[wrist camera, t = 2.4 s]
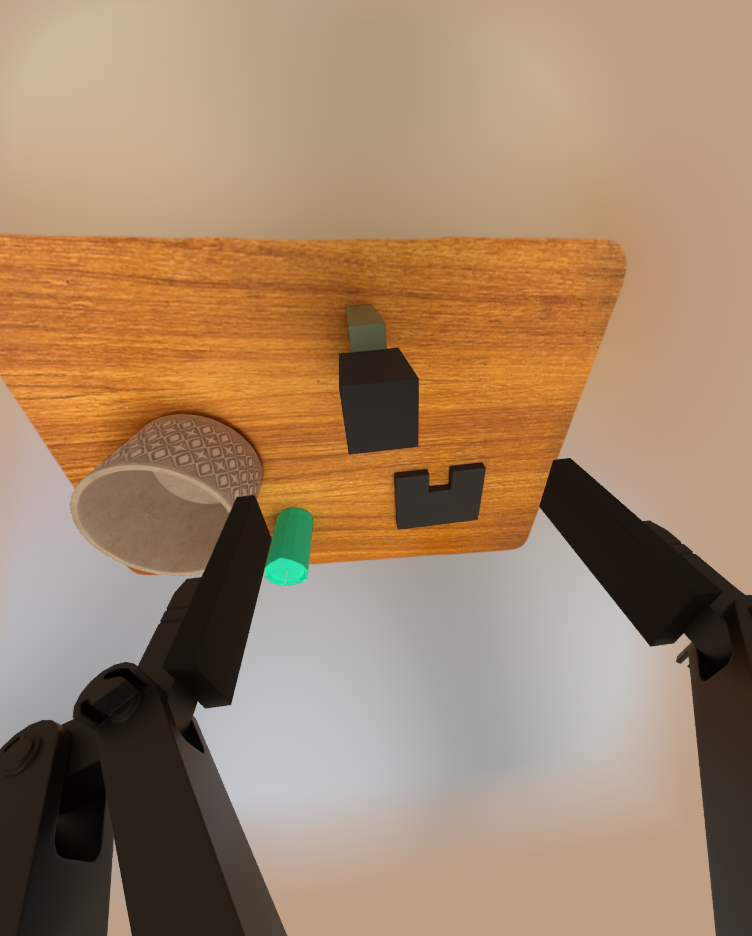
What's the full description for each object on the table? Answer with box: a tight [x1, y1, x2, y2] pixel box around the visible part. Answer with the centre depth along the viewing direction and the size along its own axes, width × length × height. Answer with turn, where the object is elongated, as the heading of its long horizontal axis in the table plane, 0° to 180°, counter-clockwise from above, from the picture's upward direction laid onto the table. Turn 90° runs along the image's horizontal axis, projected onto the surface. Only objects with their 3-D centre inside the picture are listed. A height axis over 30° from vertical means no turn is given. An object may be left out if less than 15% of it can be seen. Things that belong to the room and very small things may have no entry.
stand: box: [346, 304, 387, 352], centre depth 32 cm, size 3×9×12 cm, turn 4°
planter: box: [70, 414, 263, 576], centre depth 38 cm, size 16×16×13 cm
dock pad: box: [394, 463, 486, 530], centre depth 51 cm, size 14×11×2 cm
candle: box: [265, 508, 313, 586], centre depth 46 cm, size 6×6×12 cm
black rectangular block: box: [339, 348, 419, 454], centre depth 25 cm, size 5×8×8 cm, turn 4°
